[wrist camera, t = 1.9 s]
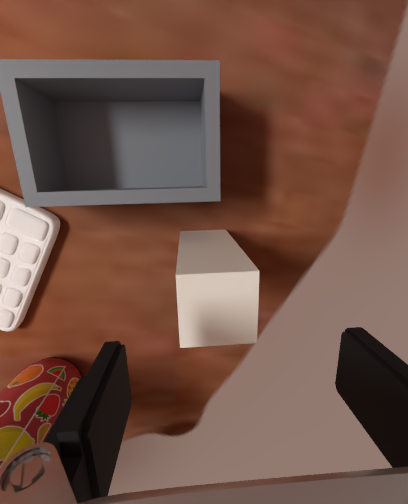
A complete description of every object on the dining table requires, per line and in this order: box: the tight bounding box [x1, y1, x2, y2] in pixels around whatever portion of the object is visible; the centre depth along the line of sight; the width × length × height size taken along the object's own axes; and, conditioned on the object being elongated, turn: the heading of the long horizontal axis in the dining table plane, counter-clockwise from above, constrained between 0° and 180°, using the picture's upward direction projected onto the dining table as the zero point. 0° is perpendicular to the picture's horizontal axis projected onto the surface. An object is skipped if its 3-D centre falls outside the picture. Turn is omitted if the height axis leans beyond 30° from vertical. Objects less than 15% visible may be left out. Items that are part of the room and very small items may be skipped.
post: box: [176, 230, 260, 348], centre depth 20 cm, size 4×4×12 cm
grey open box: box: [0, 59, 220, 207], centre depth 20 cm, size 9×14×6 cm, turn 91°
